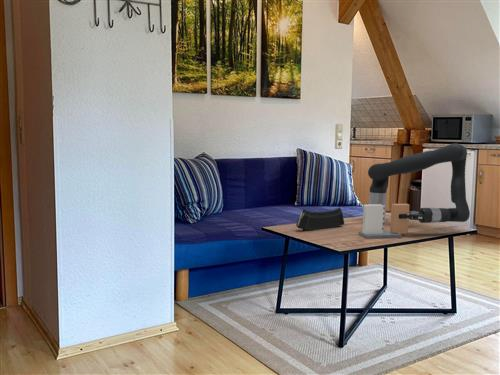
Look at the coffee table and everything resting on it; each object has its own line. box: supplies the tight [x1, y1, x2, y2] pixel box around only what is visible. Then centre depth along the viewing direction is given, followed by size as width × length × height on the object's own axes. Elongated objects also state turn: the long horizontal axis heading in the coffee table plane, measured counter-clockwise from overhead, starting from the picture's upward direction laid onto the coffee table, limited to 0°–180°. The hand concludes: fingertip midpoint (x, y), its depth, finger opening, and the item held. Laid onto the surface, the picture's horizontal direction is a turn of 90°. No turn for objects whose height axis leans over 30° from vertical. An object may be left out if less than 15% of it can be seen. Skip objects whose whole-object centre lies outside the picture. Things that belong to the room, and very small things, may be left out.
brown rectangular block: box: [389, 203, 410, 234], centre depth 248 cm, size 3×8×14 cm, turn 101°
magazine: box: [296, 207, 345, 232], centre depth 263 cm, size 17×3×30 cm
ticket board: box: [357, 204, 402, 240], centre depth 247 cm, size 10×18×16 cm, turn 101°
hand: (397, 215), depth 248 cm, fingers closed on brown rectangular block, 3 cm apart
